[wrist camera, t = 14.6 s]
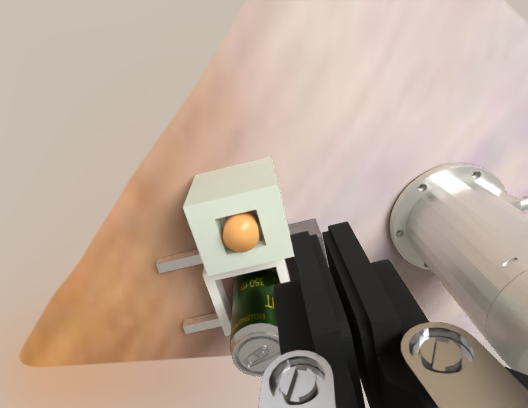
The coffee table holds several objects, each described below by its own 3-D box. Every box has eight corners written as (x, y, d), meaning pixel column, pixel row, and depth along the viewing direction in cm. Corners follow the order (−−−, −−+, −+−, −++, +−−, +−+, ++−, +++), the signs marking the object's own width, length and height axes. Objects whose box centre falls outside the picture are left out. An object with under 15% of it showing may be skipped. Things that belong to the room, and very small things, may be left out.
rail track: (315, 218, 40) (322, 236, 37) (331, 297, 45) (339, 320, 41) (157, 255, 41) (148, 276, 38) (188, 329, 46) (183, 354, 42)
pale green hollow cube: (271, 156, 37) (277, 184, 30) (287, 221, 40) (296, 261, 33) (195, 174, 38) (182, 207, 31) (216, 237, 41) (209, 281, 34)
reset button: (253, 204, 33) (253, 216, 30) (261, 233, 34) (262, 247, 32) (220, 212, 33) (218, 225, 31) (229, 241, 34) (228, 255, 32)
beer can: (252, 301, 45) (254, 387, 34) (224, 272, 43) (216, 352, 32) (289, 278, 43) (303, 359, 33) (261, 246, 42) (266, 321, 31)
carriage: (279, 235, 39) (281, 247, 37) (299, 312, 44) (301, 327, 41) (201, 253, 40) (199, 266, 38) (228, 327, 44) (227, 343, 42)
